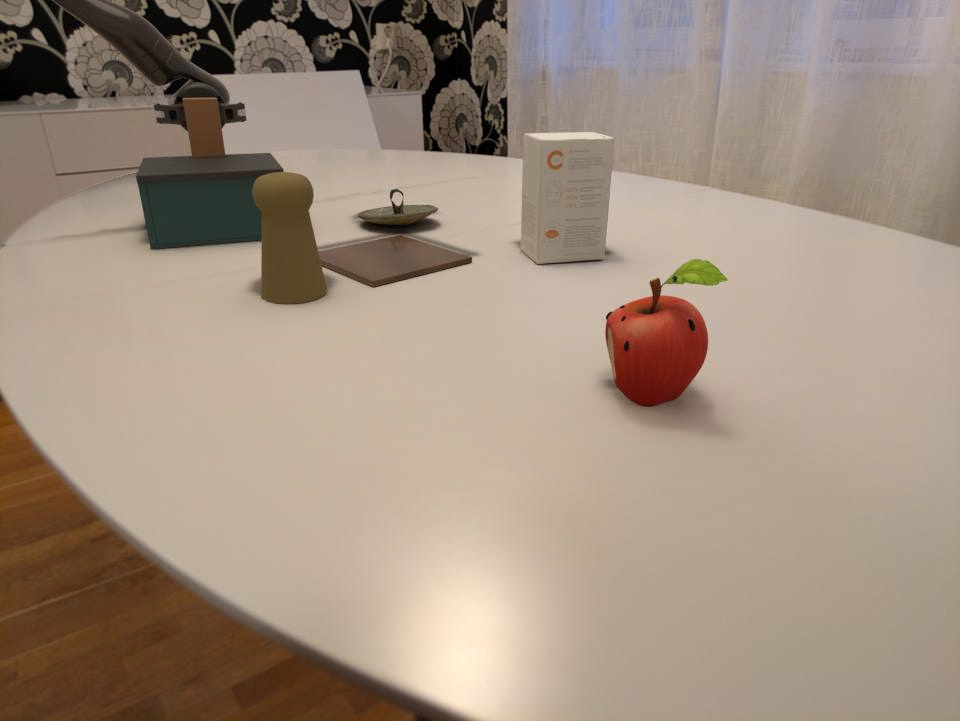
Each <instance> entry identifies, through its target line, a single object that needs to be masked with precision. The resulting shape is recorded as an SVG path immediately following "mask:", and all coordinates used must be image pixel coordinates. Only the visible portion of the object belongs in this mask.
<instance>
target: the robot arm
mask: <svg viewBox="0 0 960 721" xmlns="http://www.w3.org/2000/svg"><path fill="white" fill-rule="evenodd" d="M51 1H52V2H53V3H55V4H56V5H57V6H59V7H60V8H61V9H63V10H64V11H65V12H67V13H68V14H70V15H71V16H73V17H74V18H75V19H76V20H78V21H80V23H82V24H83V25H85V26H87V27H88V28H89V29H90V30H91V31H93V32H94V33H95V34H97V35H98V36H99V37H101V38H102V39H103V40H104V41H105V42H106V43H107V44H109V45H110V46H111V47H112V48H113V49H115V50H116V51H117V52H118V53H119V54H120V55H121V56H122V57H123V58H124V59H125V60H126V61H127V62H128V63H129V64H130V65H131V66H132V67H134V69H135V70H136V71H138V73H139V74H141V75H142V76H143V77H144V78H145V79H146V80H147V81H148V82H149V83H151V85H153V86H155V87H165V86H167V85H169V84H171V83H173V82H174V81H176V80H180V79H188V81H186V82H185V83H184V84H183V85H182V86H181V87H180V88H179V89H178V90H177V91H176V92H175V93H174V94H173V95H172V96H171V97H170V98H169V99H168V101H167V104H161V103H155V104H153V109H154V114H155V120H156V123H157V124H160V125H164V124H166V125H176V126H178V125H179V126H181V128H182V129H183V130H185V131H186V132H188V128H187V122H186V116H185V110H184V104H183V98H217V99H218V106H219V113H220V120H221V127H222V129H223V128H224V127H225V125H226V124H227V125H228V124H235V123H244V122H247V114H246V113H247V112H246V111H247V110H246V105H245V103H244V102H242V101H239V102H237V103H230V101H231V97H230V96H231V95H230V92H229V89H228V88H227V86H226V85H225V84H224V83H223V82H222V81H221V80H220V79H218V78H217V77H215V76H214V75H213V74H211V73H209V72H207V71H206V70H205V69H203V68H201V67H199V66H198V65H196V64H194V63H193V62H192V61H190V60H189V59H188V58H187V57H185V56H184V55H183V54H181V52H180V51H179V50H177V49H176V47H175V46H173V45H172V44H171V42H169V40H168V39H167V38H166V37H165V36H164V35H163V34H162V33H161V32H160V31H159V30H158V29H157V28H156V27H155V25H153V24H152V23H151V22H150V21H149V20H147V19H146V18H145V17H143V16H142V15H141V14H140V13H138V12H136V11H134V10H132V9H130V8H127V7H125V6H123V5H122V4H119V3H117V2H115V1H112V0H51Z"/></svg>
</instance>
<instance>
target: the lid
mask: <svg viewBox="0 0 960 721" xmlns="http://www.w3.org/2000/svg"><path fill="white" fill-rule="evenodd" d="M395 193H399V194H400V195H401V196H402V197H404V192H403V191H401V190H400V189H399V188H394V189H391V190H390V191H389V200H390V202H391V205H390V206H383V207H376V208H371V209H366V210H364V211H360V212H359V213H358V214H357V217H358V218H359V219H361V220H363V221H365V222H367V223H368V222H369V223H372V224H377V225H388V226H407V225H411V224H414V223H416V222H418V221H420V220H423V219H425V218H427V217H429V216H431V215H433V214H435V213H437V212H438V211H439V207H437V206H435V205H431V204H404V199H402V201H401V203H400V205H397V204H396V203H395V202H394V201H393V200H392V199H393V196H394V194H395Z"/></svg>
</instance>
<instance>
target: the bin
mask: <svg viewBox="0 0 960 721" xmlns="http://www.w3.org/2000/svg"><path fill="white" fill-rule="evenodd" d="M257 178H259V177H246V178H226V179H207V180H187V181H167V182H148V183H137V187H138V192H139V198H140V202H141V207H142V213H143V218H144V222H145V227H146V234H147V239H148V243H149V247H150V248H149V249H150V250H159V249H172V248H183V247H196V246H211V245H218V244H221V245H222V244H232V243H244V242H245V243H246V242H257V241H262V212H261V211H260V210H259V209H258V207H257V206H256V204H255V202H254V199H253V194H252V190H253V185H254V182H255V180H256V179H257Z"/></svg>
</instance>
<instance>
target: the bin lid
mask: <svg viewBox="0 0 960 721" xmlns="http://www.w3.org/2000/svg"><path fill="white" fill-rule="evenodd" d="M183 104H184V110H185V116H186V122H187V128H188V131H187V133H188V140H189V146H190V151H191V152H190V153H191V155H180V156H179V155H177V156H176V155H175V156H153V157H150V156H149V157H143V158H142V160H141V162H140V164H139V167H138V170H137V172H136V174H135V179H136V183H137V184H138V183H148V182H167V181H187V180H207V179H226V178H246V177H260V176H262V175H266V174H269V173H275V172H285V171H284V168H283V167H282V166H281V164H280V163H279V162H278V160H277V159H276V158H275V156H274V155H273V153H271V152H257V153H255V152H254V153H253V152H252V153H230V154H229V153H228V154H226V149H225V141H224V134H223V128H222V127H221V120H220V113H219V106H218V99H217V98H183Z"/></svg>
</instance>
